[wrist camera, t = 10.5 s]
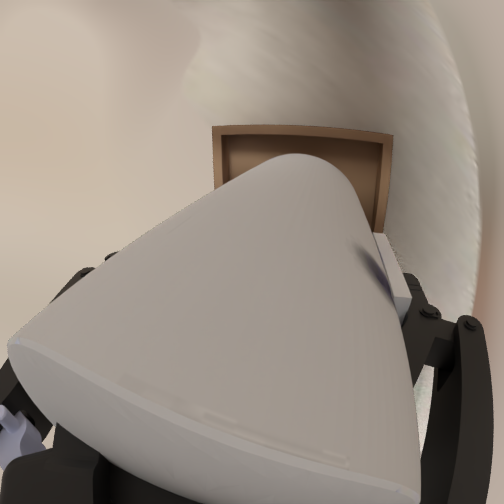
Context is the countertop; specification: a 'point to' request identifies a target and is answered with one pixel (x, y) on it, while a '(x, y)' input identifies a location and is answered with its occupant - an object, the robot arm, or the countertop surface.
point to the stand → (315, 144)
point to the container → (239, 350)
